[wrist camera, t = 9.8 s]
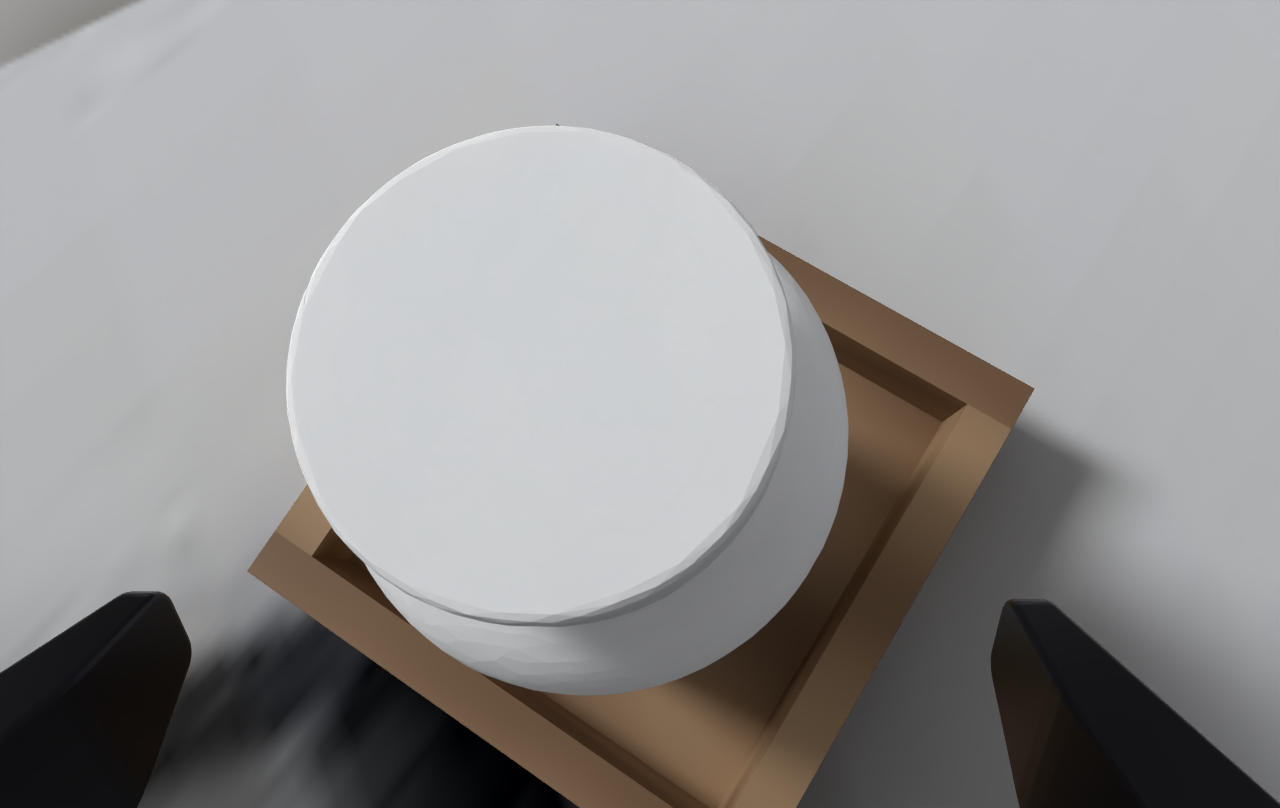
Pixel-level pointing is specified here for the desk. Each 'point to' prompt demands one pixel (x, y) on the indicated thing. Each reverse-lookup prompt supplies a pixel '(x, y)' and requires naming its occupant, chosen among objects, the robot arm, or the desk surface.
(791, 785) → the walnut tray
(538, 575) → the supplement bottle
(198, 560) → the desk surface
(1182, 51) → the desk surface
